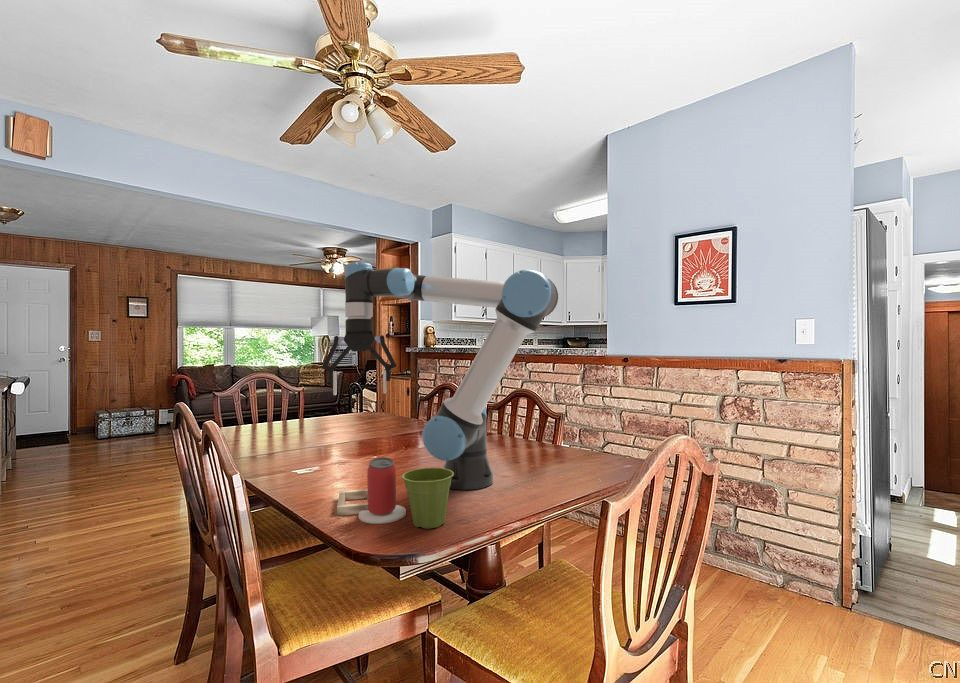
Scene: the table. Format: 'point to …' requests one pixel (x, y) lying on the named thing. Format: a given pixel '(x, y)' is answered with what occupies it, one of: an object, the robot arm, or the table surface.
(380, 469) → the beer can
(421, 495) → the plant pot
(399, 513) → the white plate
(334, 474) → the table surface
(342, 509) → the frame
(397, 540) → the table surface
